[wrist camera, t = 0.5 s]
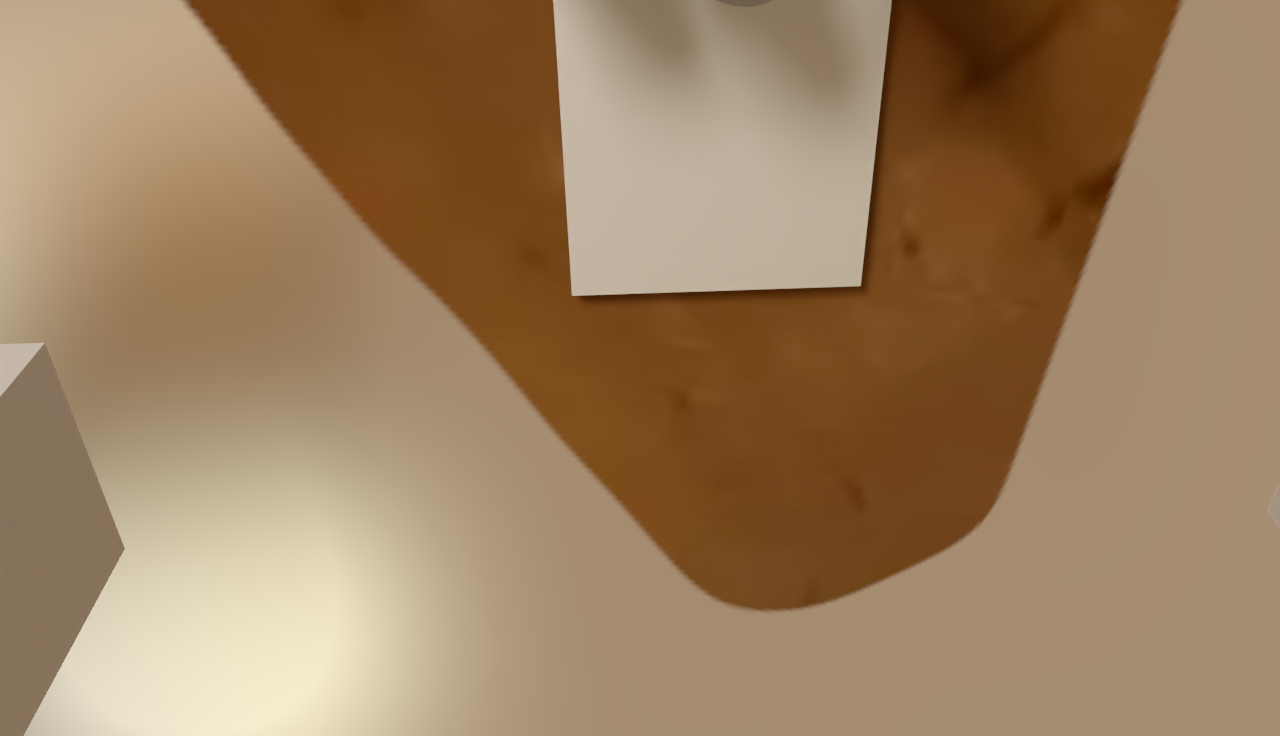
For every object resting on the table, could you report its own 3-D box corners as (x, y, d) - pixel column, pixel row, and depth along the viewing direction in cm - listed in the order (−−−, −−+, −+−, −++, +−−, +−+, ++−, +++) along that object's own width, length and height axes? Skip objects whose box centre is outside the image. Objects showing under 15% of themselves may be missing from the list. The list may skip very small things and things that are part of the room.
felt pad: (553, -9, 31) (553, -4, 30) (888, -18, 31) (893, -14, 31) (572, 287, 36) (572, 296, 36) (857, 278, 37) (860, 286, 36)
